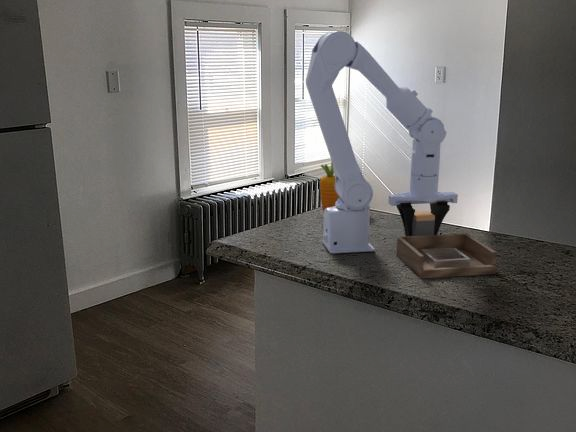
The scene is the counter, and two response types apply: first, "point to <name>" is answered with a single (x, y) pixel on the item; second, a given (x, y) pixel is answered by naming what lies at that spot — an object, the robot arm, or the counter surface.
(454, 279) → the counter surface
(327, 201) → the carrot
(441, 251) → the frame
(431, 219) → the two-tone rectangular block
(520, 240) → the counter surface
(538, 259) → the counter surface
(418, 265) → the walnut box
